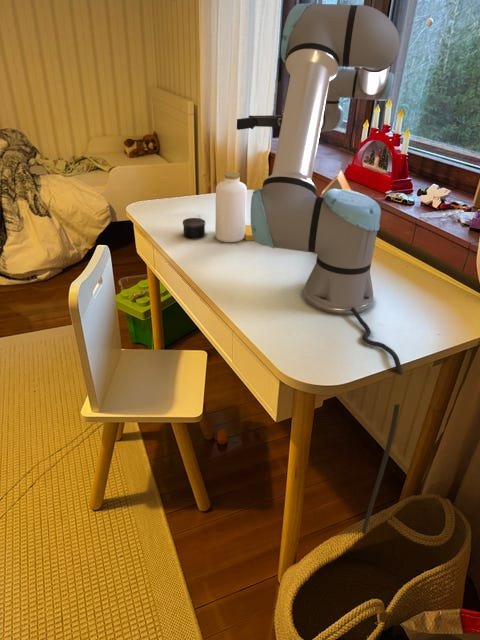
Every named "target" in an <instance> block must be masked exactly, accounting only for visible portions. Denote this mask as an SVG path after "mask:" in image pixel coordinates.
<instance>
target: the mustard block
mask: <svg viewBox="0 0 480 640" xmlns="http://www.w3.org/2000/svg"><path fill="white" fill-rule="evenodd" d="M244 240H245V241H255V240H254V238H253V236H252V230H251V224H245V236H244Z"/></svg>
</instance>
